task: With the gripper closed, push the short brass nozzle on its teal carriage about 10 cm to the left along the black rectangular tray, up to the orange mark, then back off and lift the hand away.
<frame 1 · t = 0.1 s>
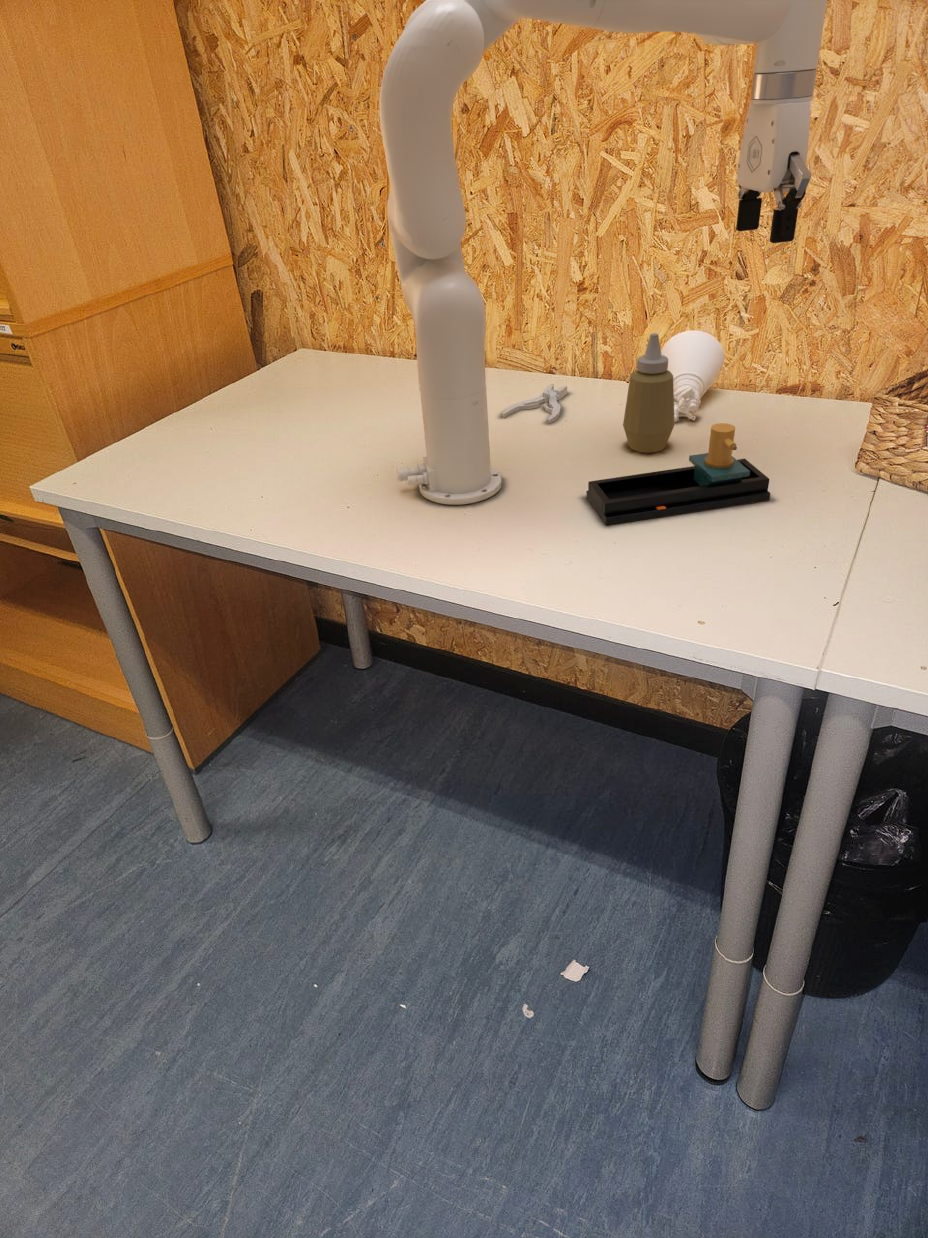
hand: (763, 235, 113), 31 cm above the table, tool pointing down, fingers open, 9 cm apart
squeeze bottle: (647, 447, 133), on the table
black rectangular tray: (676, 499, 118), on the table
rocket engine: (677, 405, 148), on the table
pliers: (542, 407, 152), on the table
nozzle: (720, 456, 115), point 6 cm above the table, slide at 0.0 cm
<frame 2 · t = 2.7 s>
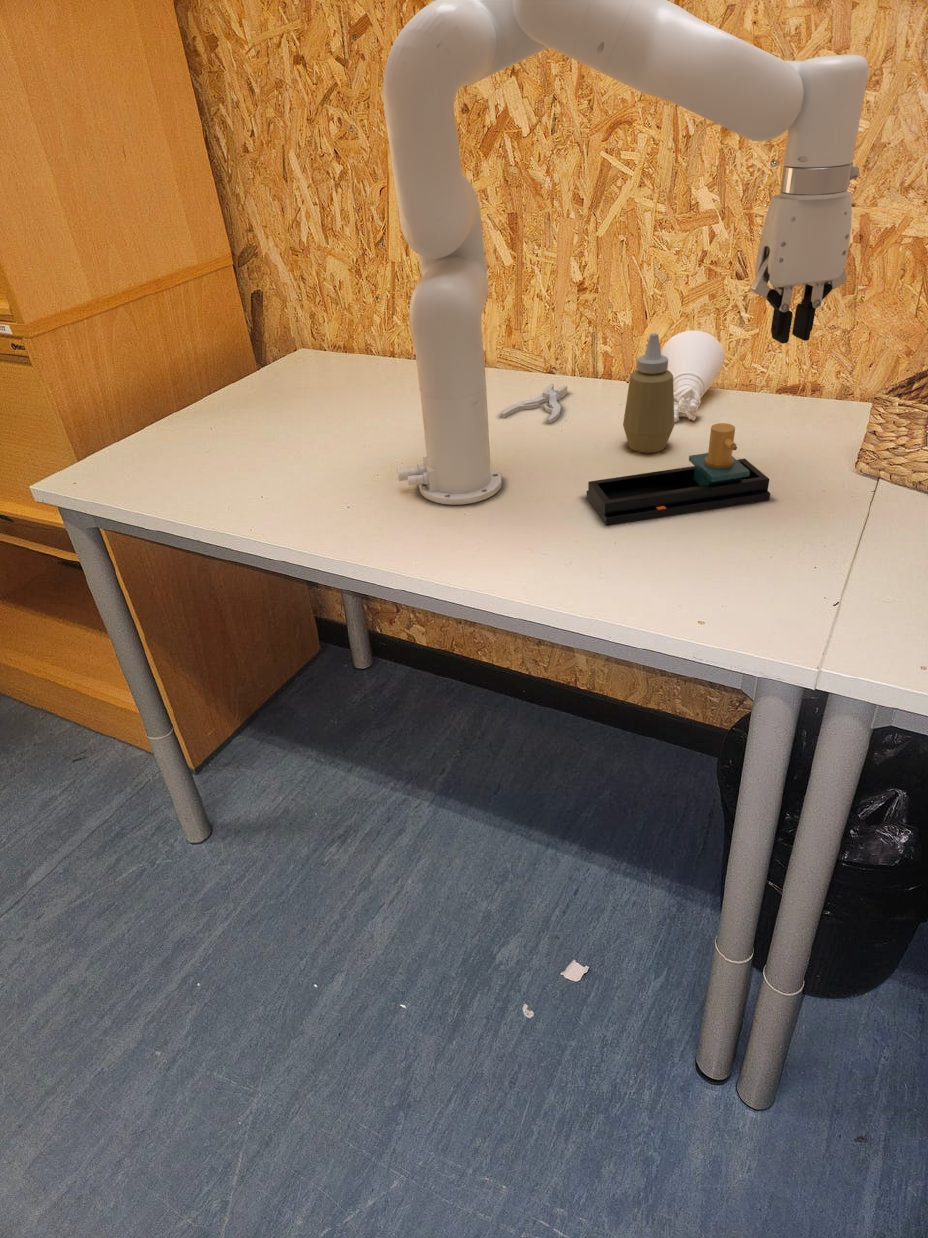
hand: (790, 337, 107), 21 cm above the table, tool pointing down, fingers closed
nothing on the table moved.
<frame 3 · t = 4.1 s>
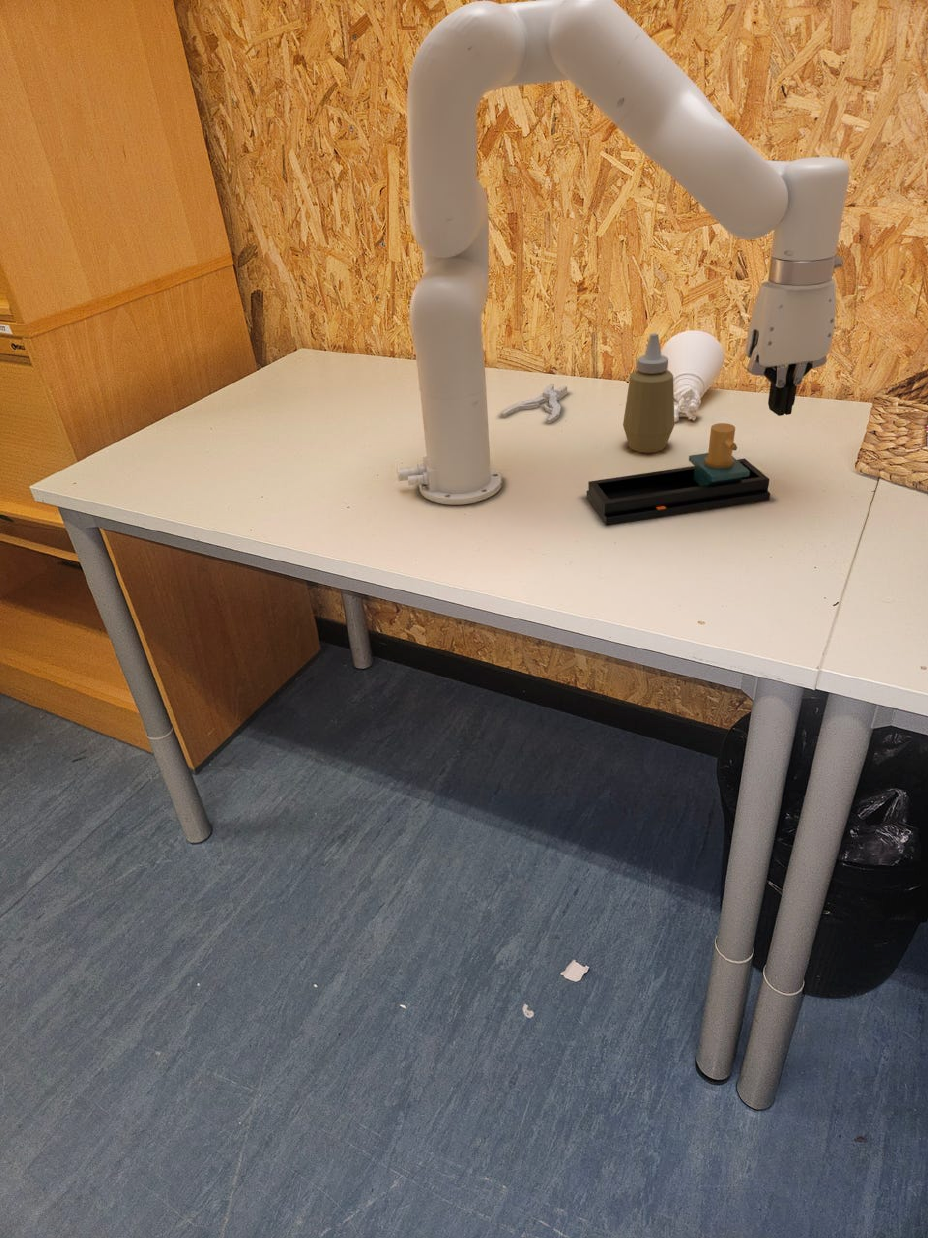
hand: (779, 411, 113), 11 cm above the table, tool pointing down, fingers closed
nothing on the table moved.
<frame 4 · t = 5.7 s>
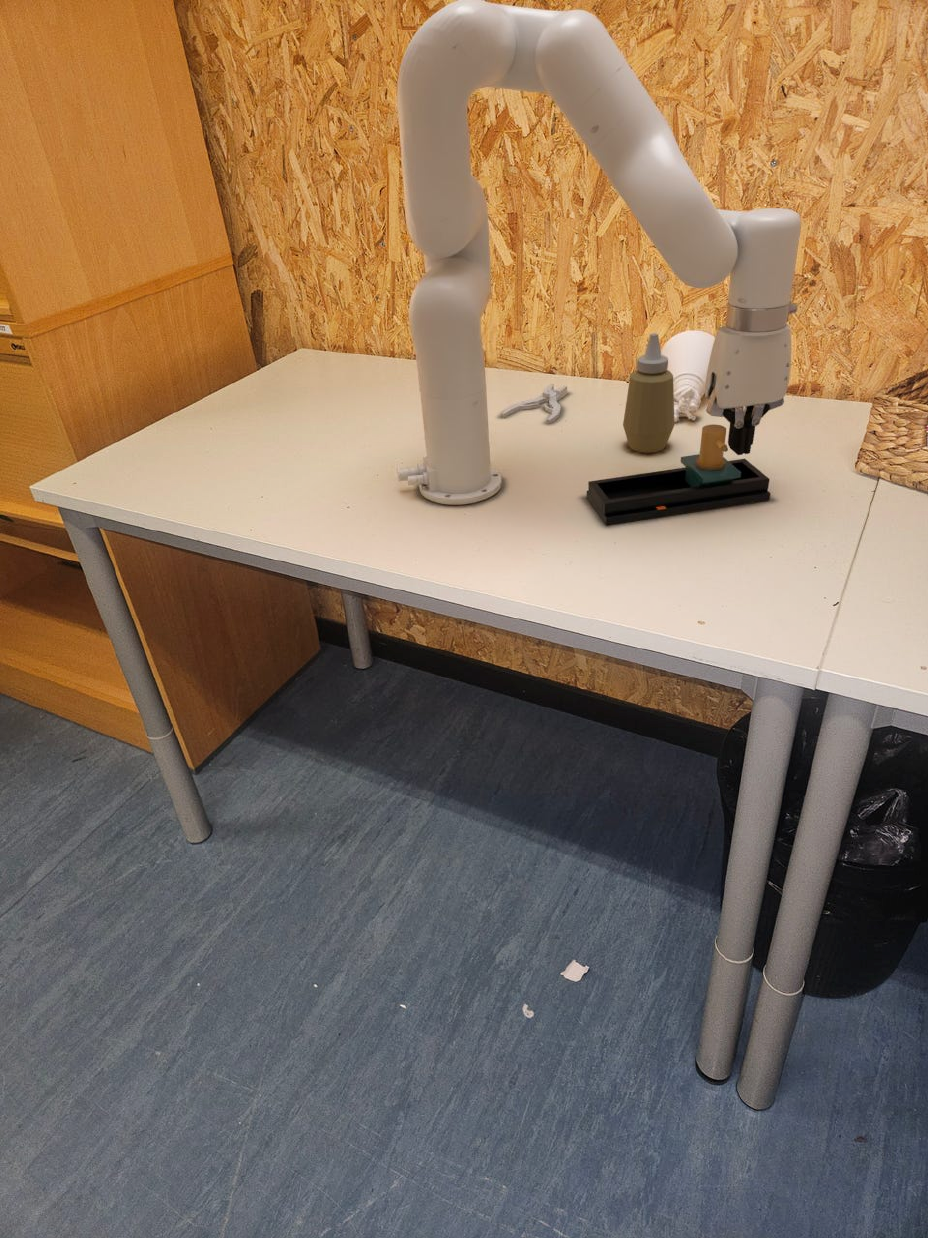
hand: (739, 450, 115), 6 cm above the table, tool pointing down, fingers closed
nozzle: (711, 457, 115), point 6 cm above the table, slide at 1.3 cm, touching gripper
everything else where it was.
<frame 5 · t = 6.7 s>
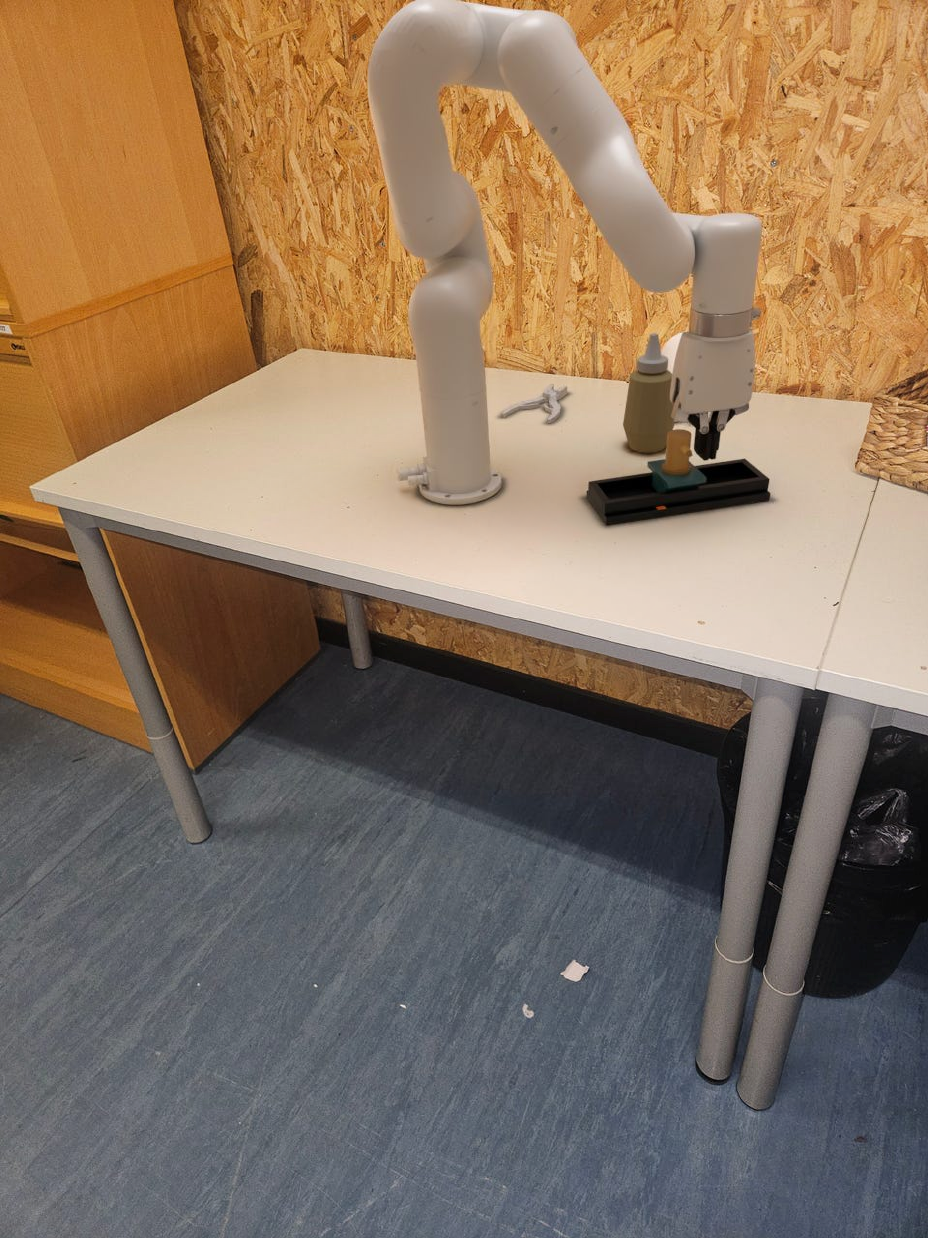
hand: (705, 455, 114), 6 cm above the table, tool pointing down, fingers closed
nozzle: (677, 462, 114), point 6 cm above the table, slide at 6.4 cm, touching gripper
everything else where it was.
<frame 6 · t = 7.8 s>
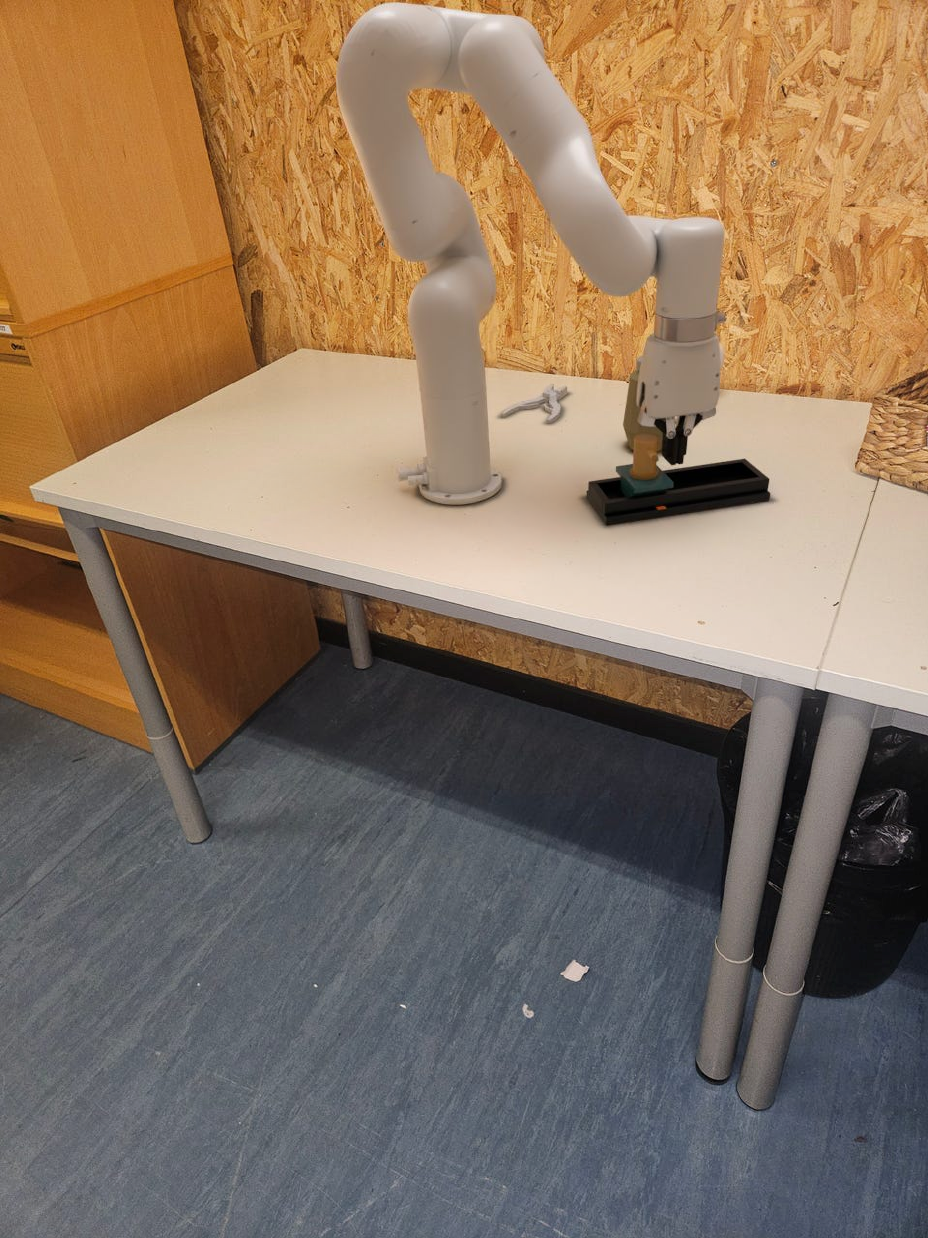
hand: (673, 460, 114), 6 cm above the table, tool pointing down, fingers closed
nozzle: (644, 467, 114), point 6 cm above the table, slide at 11.1 cm, touching gripper
everything else where it was.
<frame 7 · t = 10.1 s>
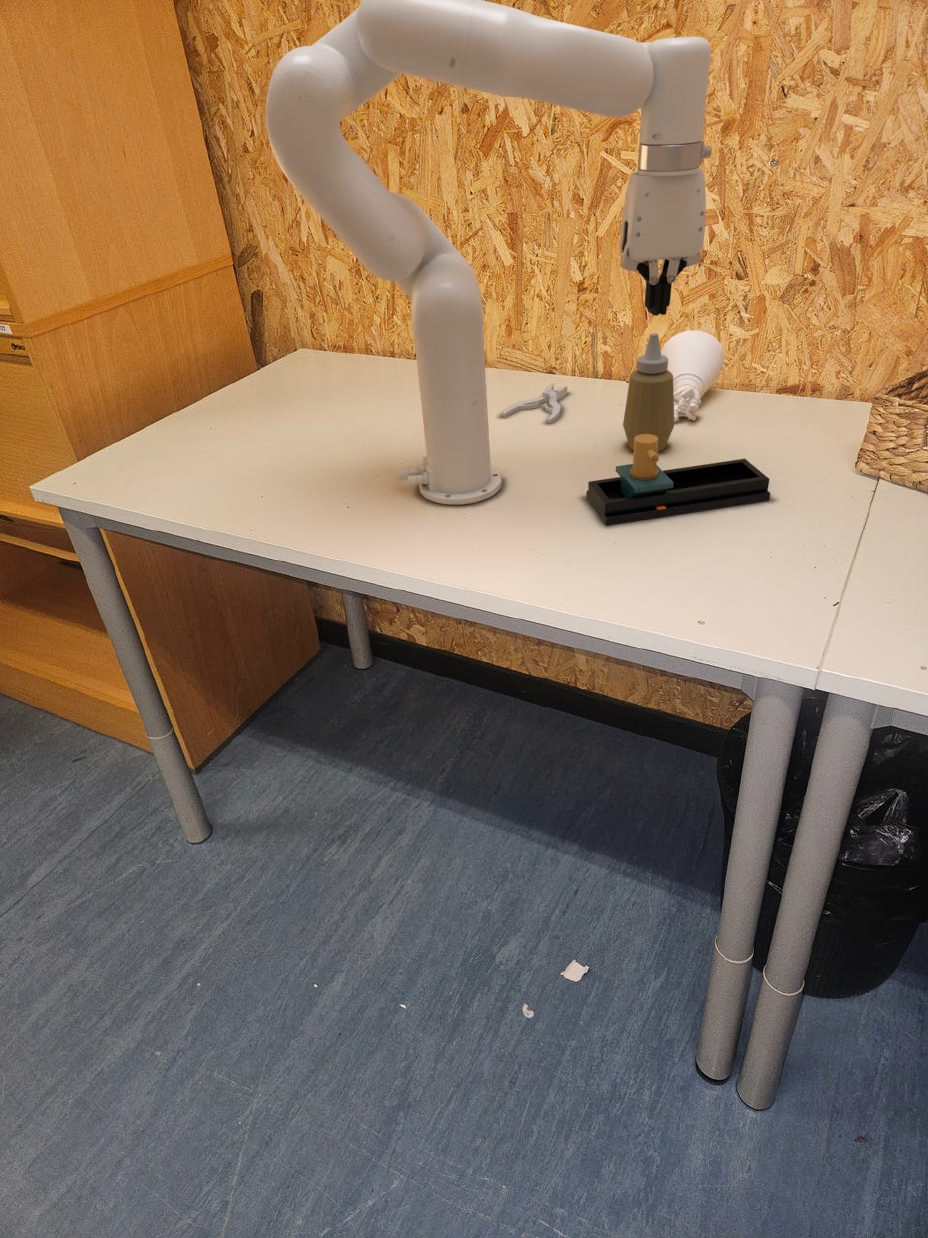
hand: (656, 312, 111), 24 cm above the table, tool pointing down, fingers closed
nozzle: (644, 467, 114), point 6 cm above the table, slide at 11.1 cm
everything else where it was.
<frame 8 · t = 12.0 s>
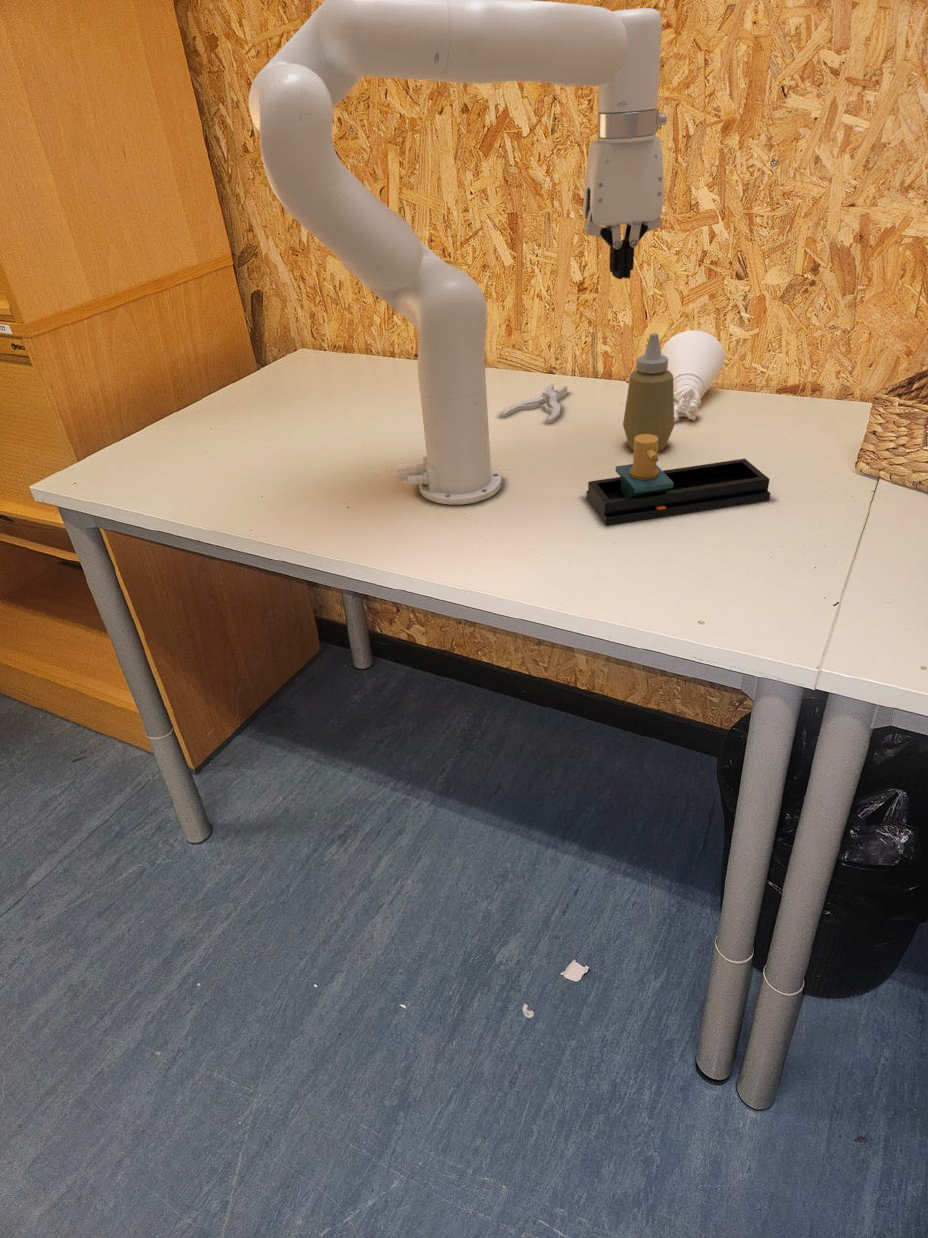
hand: (621, 276, 116), 27 cm above the table, tool pointing down, fingers closed
nothing on the table moved.
at the end: nozzle slide at 11.1 cm; the gripper is holding nothing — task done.
